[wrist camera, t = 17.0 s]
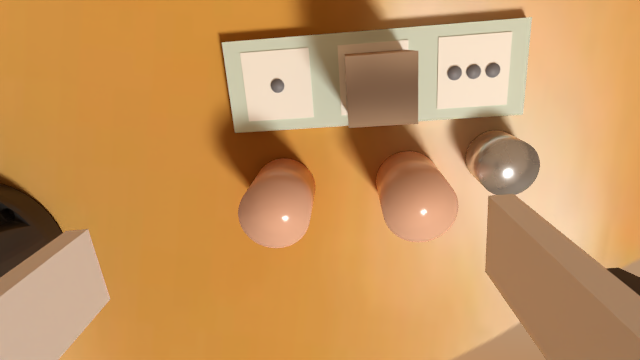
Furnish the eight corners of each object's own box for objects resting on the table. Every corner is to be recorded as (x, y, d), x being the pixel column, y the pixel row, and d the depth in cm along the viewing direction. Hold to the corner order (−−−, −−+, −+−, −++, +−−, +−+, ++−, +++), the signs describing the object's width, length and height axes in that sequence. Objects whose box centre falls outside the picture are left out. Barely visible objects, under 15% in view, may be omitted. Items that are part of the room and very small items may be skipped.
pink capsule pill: (376, 210, 40) (383, 243, 33) (375, 152, 38) (382, 176, 31) (437, 207, 39) (456, 240, 33) (438, 149, 37) (459, 171, 31)
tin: (464, 182, 38) (477, 197, 35) (466, 132, 37) (480, 142, 33) (517, 179, 38) (536, 194, 34) (521, 128, 36) (542, 137, 33)
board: (237, 130, 38) (234, 133, 37) (224, 42, 35) (220, 42, 34) (518, 112, 36) (524, 115, 35) (526, 17, 33) (533, 17, 32)
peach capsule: (259, 215, 41) (243, 249, 34) (252, 160, 39) (233, 183, 32) (317, 213, 40) (312, 246, 34) (312, 156, 38) (306, 180, 32)
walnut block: (344, 54, 34) (344, 56, 27) (403, 49, 33) (418, 50, 27) (347, 112, 35) (348, 127, 29) (403, 108, 35) (418, 123, 28)
